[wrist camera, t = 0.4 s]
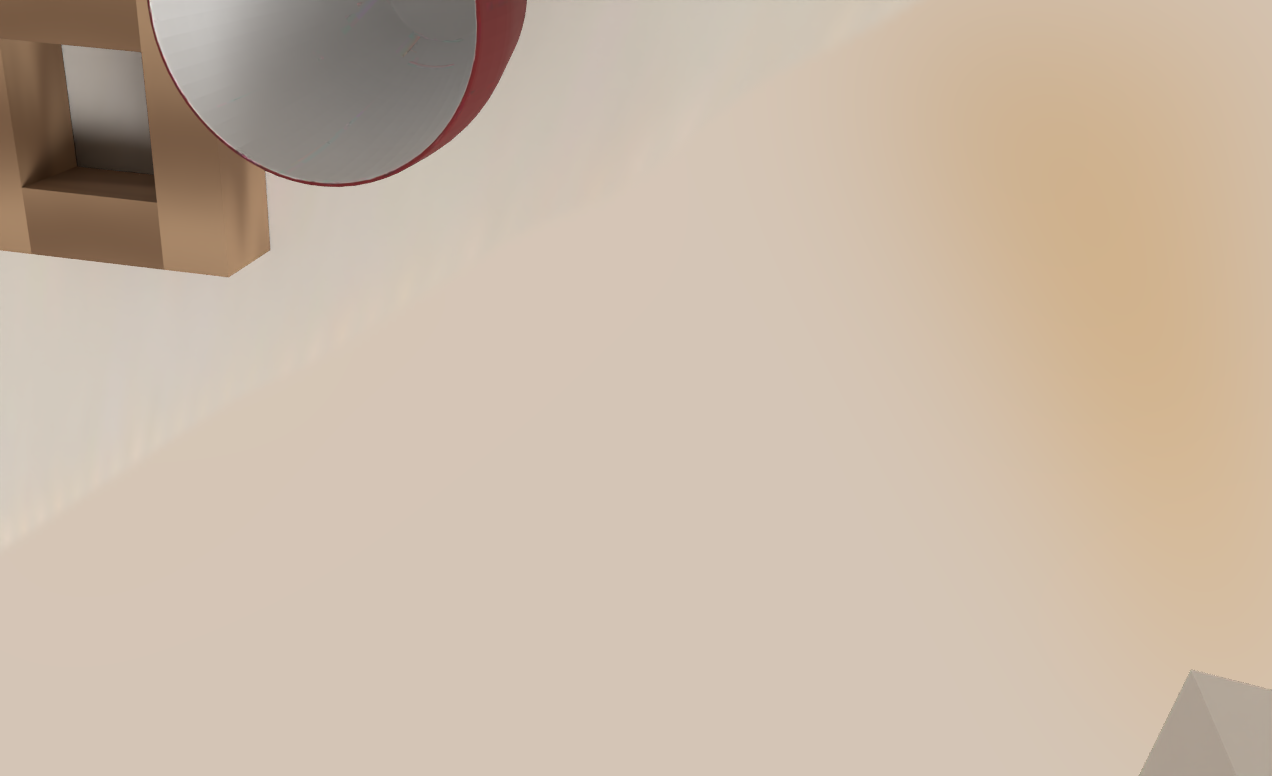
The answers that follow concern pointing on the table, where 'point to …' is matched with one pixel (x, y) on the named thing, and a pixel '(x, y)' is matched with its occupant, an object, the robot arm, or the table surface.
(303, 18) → the mug
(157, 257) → the socket block
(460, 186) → the table surface
